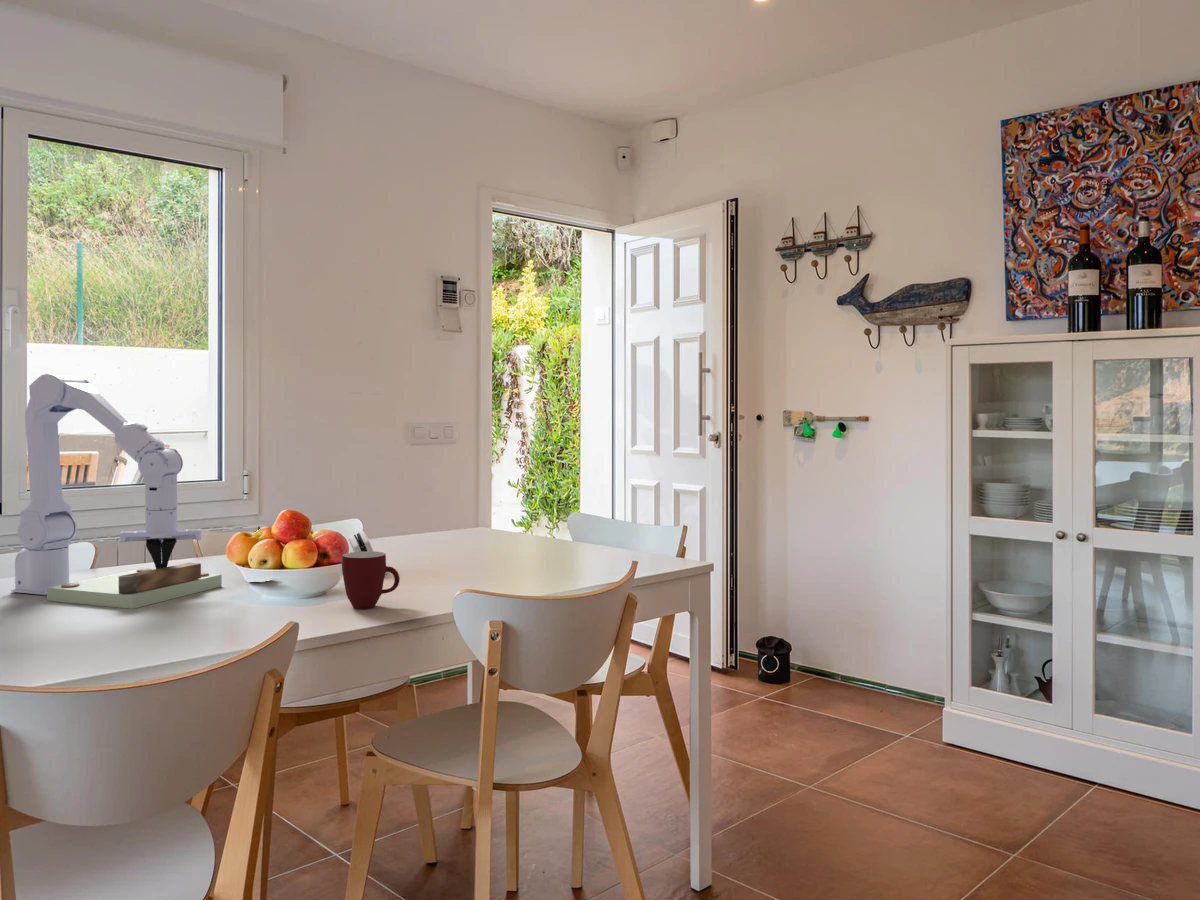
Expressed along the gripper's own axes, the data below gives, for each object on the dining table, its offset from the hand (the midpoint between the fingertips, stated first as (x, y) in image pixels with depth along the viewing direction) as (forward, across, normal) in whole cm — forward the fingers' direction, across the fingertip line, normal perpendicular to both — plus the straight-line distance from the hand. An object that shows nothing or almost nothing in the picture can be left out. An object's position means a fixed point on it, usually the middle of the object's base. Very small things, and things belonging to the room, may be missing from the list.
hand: (161, 576), depth 176 cm
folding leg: (+1, 0, -5) cm, 5 cm away
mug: (+3, +38, -26) cm, 46 cm away
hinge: (+4, +42, +16) cm, 45 cm away
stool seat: (+4, -4, +3) cm, 6 cm away
